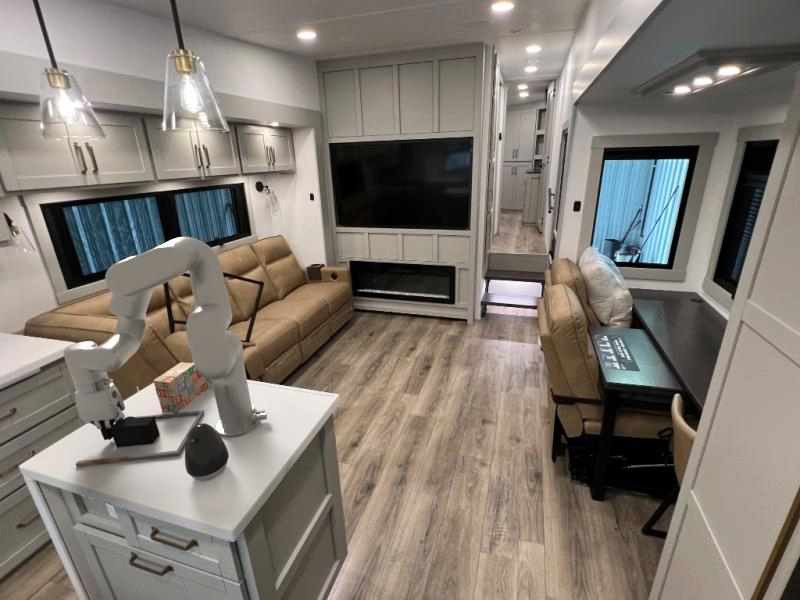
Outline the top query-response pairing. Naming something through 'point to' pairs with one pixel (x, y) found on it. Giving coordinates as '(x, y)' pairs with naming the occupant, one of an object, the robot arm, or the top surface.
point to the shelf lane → (113, 459)
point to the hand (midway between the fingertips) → (110, 436)
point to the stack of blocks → (180, 387)
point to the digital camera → (135, 431)
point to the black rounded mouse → (205, 453)
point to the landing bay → (183, 443)
